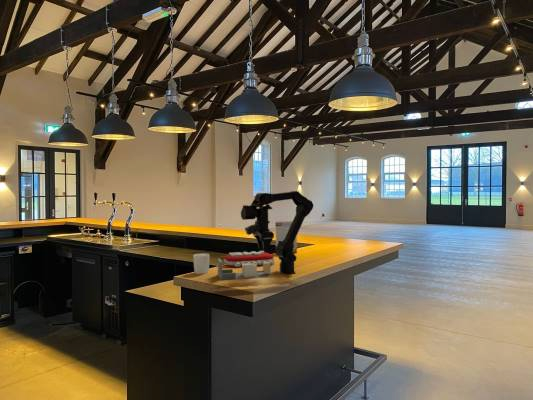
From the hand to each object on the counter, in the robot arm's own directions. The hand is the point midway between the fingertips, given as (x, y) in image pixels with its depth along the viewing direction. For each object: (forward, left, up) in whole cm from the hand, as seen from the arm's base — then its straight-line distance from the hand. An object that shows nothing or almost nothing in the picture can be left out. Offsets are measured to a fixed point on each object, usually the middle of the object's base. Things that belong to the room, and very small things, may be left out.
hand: (262, 251), depth 193 cm
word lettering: (+1, -32, -13) cm, 34 cm away
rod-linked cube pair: (+4, +2, -11) cm, 12 cm away
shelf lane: (+10, +2, -12) cm, 16 cm away
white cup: (+29, -12, -12) cm, 33 cm away
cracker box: (-32, -67, -12) cm, 75 cm away
